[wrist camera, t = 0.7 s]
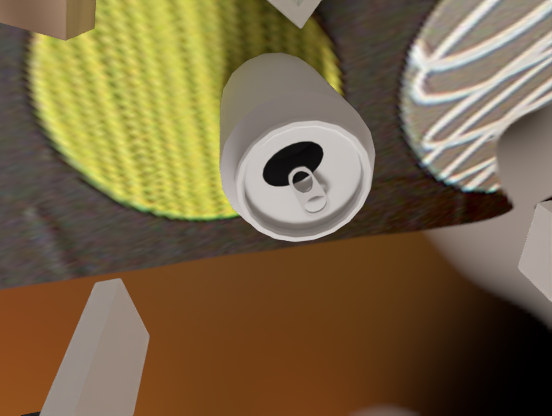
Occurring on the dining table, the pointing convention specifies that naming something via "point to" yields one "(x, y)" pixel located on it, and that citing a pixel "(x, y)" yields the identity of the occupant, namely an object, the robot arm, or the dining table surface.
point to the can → (292, 149)
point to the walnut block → (50, 16)
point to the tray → (296, 9)
